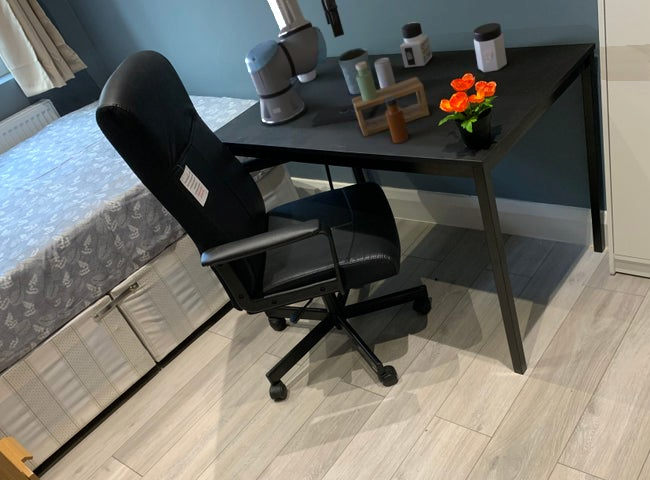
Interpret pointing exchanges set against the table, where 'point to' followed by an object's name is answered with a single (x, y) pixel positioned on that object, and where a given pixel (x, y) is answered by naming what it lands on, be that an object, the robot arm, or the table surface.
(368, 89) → the sage bottle
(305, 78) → the coffee cup
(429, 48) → the container
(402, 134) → the amber bottle
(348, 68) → the blue-grey plant pot
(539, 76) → the table surface
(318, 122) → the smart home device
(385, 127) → the wooden frame
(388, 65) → the beverage can
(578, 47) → the table surface
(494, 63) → the jar
